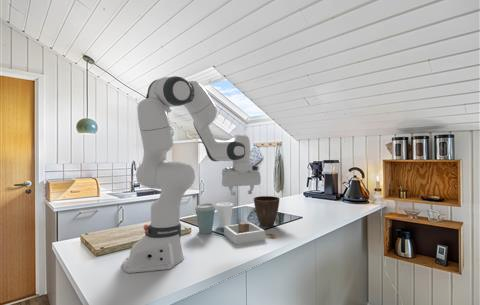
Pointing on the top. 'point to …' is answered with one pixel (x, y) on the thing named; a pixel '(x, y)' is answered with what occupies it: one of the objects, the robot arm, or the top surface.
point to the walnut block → (243, 227)
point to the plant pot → (266, 209)
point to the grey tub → (244, 234)
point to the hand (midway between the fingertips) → (241, 194)
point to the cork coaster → (271, 236)
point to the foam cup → (224, 214)
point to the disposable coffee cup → (205, 217)
